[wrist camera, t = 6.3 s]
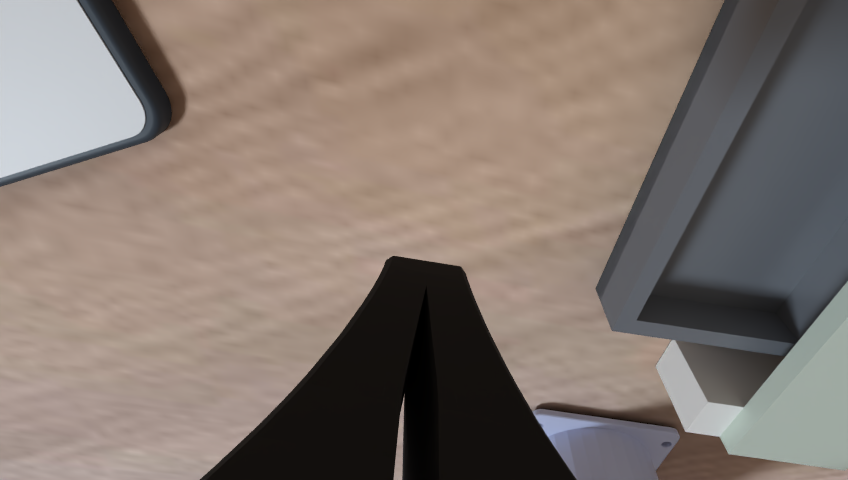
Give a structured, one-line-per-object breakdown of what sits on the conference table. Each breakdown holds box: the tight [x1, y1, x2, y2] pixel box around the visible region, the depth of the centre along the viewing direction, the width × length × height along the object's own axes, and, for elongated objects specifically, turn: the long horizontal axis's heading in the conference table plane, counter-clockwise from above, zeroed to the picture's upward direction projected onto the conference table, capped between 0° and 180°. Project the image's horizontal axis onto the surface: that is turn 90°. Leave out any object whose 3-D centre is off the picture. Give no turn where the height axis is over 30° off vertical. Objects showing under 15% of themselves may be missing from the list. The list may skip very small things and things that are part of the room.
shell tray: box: [596, 0, 848, 356], centre depth 16 cm, size 14×8×3 cm, turn 172°
